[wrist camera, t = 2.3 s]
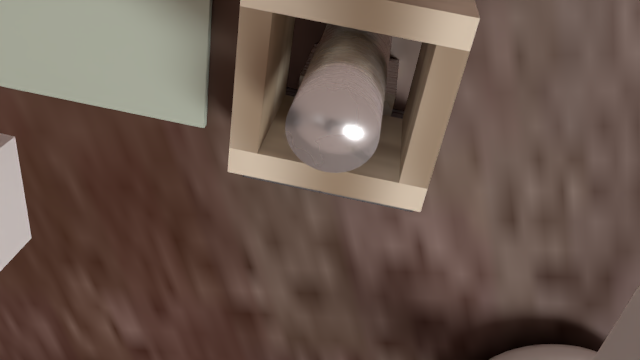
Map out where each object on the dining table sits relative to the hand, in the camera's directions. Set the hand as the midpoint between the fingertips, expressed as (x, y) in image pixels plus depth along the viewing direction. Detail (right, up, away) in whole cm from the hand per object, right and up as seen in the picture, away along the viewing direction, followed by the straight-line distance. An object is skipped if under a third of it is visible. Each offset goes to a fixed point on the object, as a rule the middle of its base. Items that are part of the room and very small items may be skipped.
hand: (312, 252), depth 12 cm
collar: (+1, +7, +11) cm, 13 cm away
